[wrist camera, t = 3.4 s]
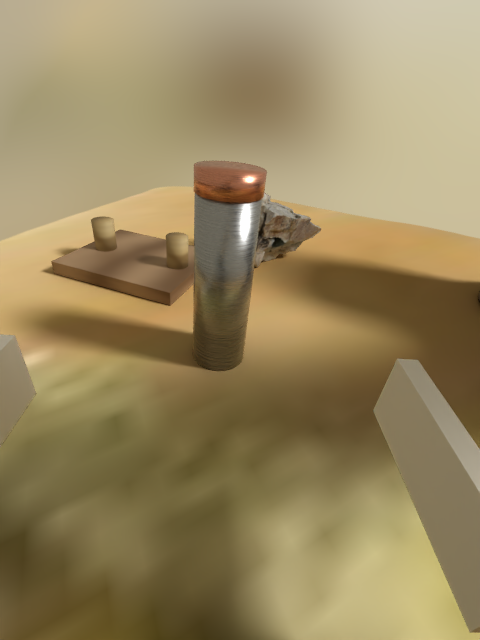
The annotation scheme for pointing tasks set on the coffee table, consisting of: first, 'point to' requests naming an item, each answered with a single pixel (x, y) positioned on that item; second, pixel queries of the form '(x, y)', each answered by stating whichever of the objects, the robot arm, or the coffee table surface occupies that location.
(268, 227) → the mineral specimen
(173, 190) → the coffee table surface
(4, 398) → the robot arm
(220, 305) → the pin
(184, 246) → the peg rack
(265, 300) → the coffee table surface
